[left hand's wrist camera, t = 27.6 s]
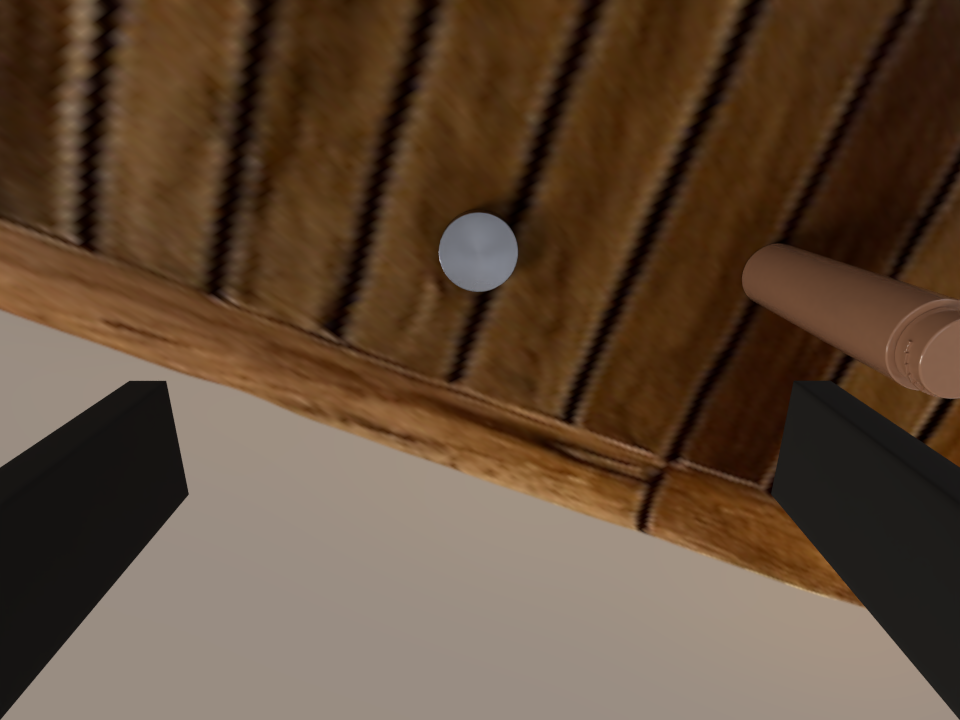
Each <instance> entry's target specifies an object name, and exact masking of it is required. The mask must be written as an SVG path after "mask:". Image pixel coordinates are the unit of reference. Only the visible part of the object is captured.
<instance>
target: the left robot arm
mask: <svg viewBox="0 0 960 720" xmlns="http://www.w3.org/2000/svg"><path fill="white" fill-rule="evenodd" d="M188 494H189V493H188V488H187V483H186V478H185V473H184V468H183V463H182V458H181V453H180V448H179V443H178V438H177V433H176V428H175V423H174V418H173V413H172V408H171V403H170V398H169V393H168V388H167V383H166V381H129V382H127V383H126V384H124V385H123V386H121V387H120V388H118V389H117V390H115V391H114V392H112V393H111V394H109V395H108V396H106V397H105V398H103V399H102V400H100V401H99V402H97V403H96V404H94V405H93V406H91V407H90V408H88V409H87V410H85V411H84V412H83V413H81V414H79V415H78V416H76V417H75V418H74V419H72V420H71V421H69V422H68V423H66V424H65V425H63V426H62V427H60V428H59V429H57V430H56V431H54V432H53V433H51V434H50V435H48V436H47V437H45V438H44V439H42V440H41V441H39V442H38V443H36V444H35V445H33V446H32V447H30V448H29V449H27V450H26V451H24V452H23V453H21V454H20V455H18V456H17V457H15V458H14V459H12V460H11V461H9V462H8V463H7V464H5V465H3V466H2V467H0V719H1V718H2V717H3V716H4V715H5V714H6V712H7V711H8V710H9V709H10V708H11V706H12V705H13V704H14V703H15V702H16V700H17V699H18V698H19V697H20V696H21V694H22V693H23V692H24V691H25V690H26V688H27V687H28V686H29V685H30V684H31V682H32V681H33V680H34V679H35V678H36V676H37V675H38V674H39V673H40V672H41V670H42V669H43V668H44V667H45V666H46V664H47V663H48V662H49V661H50V660H51V658H52V657H53V656H54V655H55V654H56V653H57V651H58V650H59V649H60V648H61V647H62V645H63V644H64V643H65V642H66V641H67V639H68V638H69V637H70V636H71V635H72V633H73V632H74V631H75V630H76V629H77V627H78V626H79V625H80V624H81V623H82V621H83V620H84V619H85V618H86V617H87V615H88V614H89V613H90V612H91V611H92V609H93V608H94V607H95V606H96V605H97V603H98V602H99V601H100V600H101V599H102V597H103V596H104V595H105V594H106V593H107V591H108V590H109V589H110V588H111V587H112V586H113V584H114V583H115V582H116V581H117V579H118V578H119V577H120V576H121V575H122V574H123V572H124V571H125V570H126V569H127V568H128V566H129V565H130V564H131V563H132V562H133V560H134V559H135V558H136V557H137V556H138V554H139V553H140V552H141V551H142V550H143V548H144V547H145V546H146V545H147V544H148V542H149V541H150V540H151V539H152V538H153V536H154V535H155V534H156V533H157V532H158V530H159V529H160V528H161V527H162V526H163V525H164V523H165V522H166V521H167V520H168V518H169V517H170V516H171V515H172V514H173V513H174V511H175V510H176V509H177V508H178V507H179V505H180V504H181V503H182V502H183V501H184V499H185V498H186V497H187V496H188ZM771 495H772V496H773V497H774V498H775V499H776V501H777V502H778V503H779V504H780V505H781V507H782V508H783V509H784V510H785V511H786V513H787V514H788V515H789V516H790V517H791V519H792V520H793V521H794V522H795V523H796V525H797V526H798V527H799V528H800V529H801V531H802V532H803V533H804V534H805V535H806V536H807V538H808V539H809V540H810V541H811V542H812V544H813V545H814V546H815V547H816V548H817V550H818V551H819V552H820V553H821V554H822V556H823V557H824V558H825V559H826V560H827V562H828V563H829V564H830V565H831V566H832V568H833V569H834V570H835V571H836V572H837V574H838V575H839V576H840V577H841V578H842V580H843V581H844V582H845V583H846V584H847V586H848V587H849V588H850V589H851V590H852V592H853V593H854V594H855V595H856V596H857V597H858V599H859V600H860V601H861V602H862V603H863V605H864V606H865V607H866V608H867V609H868V611H869V612H870V613H871V614H872V615H873V617H874V618H875V619H876V620H877V621H878V623H879V624H880V625H881V626H882V627H883V629H884V630H885V631H886V632H887V633H888V635H889V636H890V637H891V638H892V639H893V641H894V642H895V643H896V644H897V645H898V646H899V648H900V649H901V650H902V651H903V653H904V654H905V655H906V656H907V657H908V658H909V660H910V661H911V662H912V663H913V664H914V666H915V667H916V668H917V669H918V670H919V672H920V673H921V674H922V675H923V676H924V678H925V679H926V680H927V681H928V682H929V684H930V685H931V686H932V687H933V688H934V690H935V691H936V692H937V693H938V694H939V696H940V697H941V698H942V699H943V700H944V702H945V703H946V704H947V705H948V706H949V708H950V709H951V710H952V711H953V712H954V714H955V715H956V716H957V717H958V718H959V719H960V467H958V466H957V465H955V464H954V463H952V462H951V461H949V460H948V459H946V458H945V457H943V456H942V455H940V454H939V453H937V452H936V451H934V450H933V449H931V448H930V447H928V446H927V445H925V444H924V443H922V442H921V441H919V440H918V439H916V438H915V437H913V436H912V435H910V434H909V433H907V432H906V431H904V430H903V429H901V428H900V427H898V426H897V425H895V424H894V423H892V422H891V421H889V420H888V419H886V418H885V417H884V416H882V415H881V414H879V413H878V412H876V411H875V410H873V409H872V408H870V407H869V406H867V405H866V404H864V403H863V402H861V401H860V400H858V399H857V398H855V397H854V396H852V395H851V394H849V393H848V392H846V391H845V390H843V389H842V388H840V387H839V386H837V385H836V384H834V383H833V382H831V381H794V383H793V388H792V393H791V398H790V403H789V408H788V413H787V418H786V423H785V428H784V433H783V438H782V443H781V448H780V453H779V458H778V463H777V468H776V473H775V478H774V483H773V488H772V493H771Z"/></svg>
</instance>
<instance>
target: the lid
mask: <svg viewBox="0 0 960 720" xmlns="http://www.w3.org/2000/svg"><path fill="white" fill-rule="evenodd" d="M439 259H440V263H441V266H442V269H443V271H444V272H445V274H446V276H447V277H448V278H449V279H450V280H451V281H452V282H453V283H454V284H456V285H457V286H459V287H461V288H463V289H465V290H469V291H474V292H483V291H488V290H492V289H494V288H496V287H498V286H500V285H501V284H503V283H504V282H505V281H506V280H507V279H508V278H509V277H510V275H511V274H512V272H513V271H514V269H515V266H516V263H517V259H518V245H517V241H516V238H515V235H514V233H513V230H512V229H511V227H510V226H509V224H508V223H507V222H506V221H505V220H504V219H503V218H502V217H501V216H499V215H497V214H496V213H493V212H491V211H487V210H481V209H478V210H470V211H466V212H464V213H461V214H460V215H458V216H456V217H455V218H454V219H453V220H452V221H451V222H450V223H449V224H448V226H447V227H446V229H445V231H444V233H443V235H442V238H441V240H440V245H439Z"/></svg>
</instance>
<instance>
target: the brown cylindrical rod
mask: <svg viewBox="0 0 960 720" xmlns="http://www.w3.org/2000/svg"><path fill="white" fill-rule="evenodd" d="M742 284H743V288H744V291H745V293H746V294H747V296H748V297H749V298H750V299H751V300H752V301H754V302H756V303H757V304H759V305H761V306H763V307H764V308H766V309H768V310H770V311H771V312H773V313H775V314H777V315H778V316H780V317H782V318H784V319H786V320H787V321H789V322H791V323H793V324H794V325H796V326H798V327H800V328H801V329H803V330H805V331H807V332H808V333H810V334H812V335H814V336H815V337H817V338H819V339H821V340H822V341H824V342H826V343H828V344H830V345H831V346H833V347H835V348H837V349H838V350H840V351H842V352H844V353H845V354H847V355H849V356H851V357H852V358H854V359H856V360H858V361H859V362H861V363H863V364H865V365H866V366H868V367H870V368H872V369H874V370H875V371H877V372H879V373H881V374H882V375H884V376H886V377H888V378H889V379H891V380H893V381H895V382H896V383H898V384H900V385H902V386H904V387H906V388H909V389H913V390H920V391H922V392H924V393H927V394H929V395H932V396H937V397H943V398H960V300H959V299H956V298H953V297H949V296H946V295H943V294H940V293H937V292H934V291H931V290H928V289H924V288H921V287H918V286H915V285H912V284H909V283H906V282H903V281H900V280H896V279H893V278H890V277H887V276H884V275H881V274H878V273H875V272H872V271H868V270H865V269H862V268H859V267H856V266H853V265H850V264H847V263H843V262H840V261H837V260H834V259H831V258H828V257H825V256H822V255H819V254H815V253H812V252H809V251H806V250H803V249H800V248H797V247H794V246H791V245H787V244H780V243H778V244H771V245H768V246H765V247H763V248H761V249H760V250H758V251H757V252H756V253H755V254H753V255H752V257H751V258H750V259H749V260H748V262H747V263H746V266H745V268H744V271H743V275H742Z"/></svg>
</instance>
